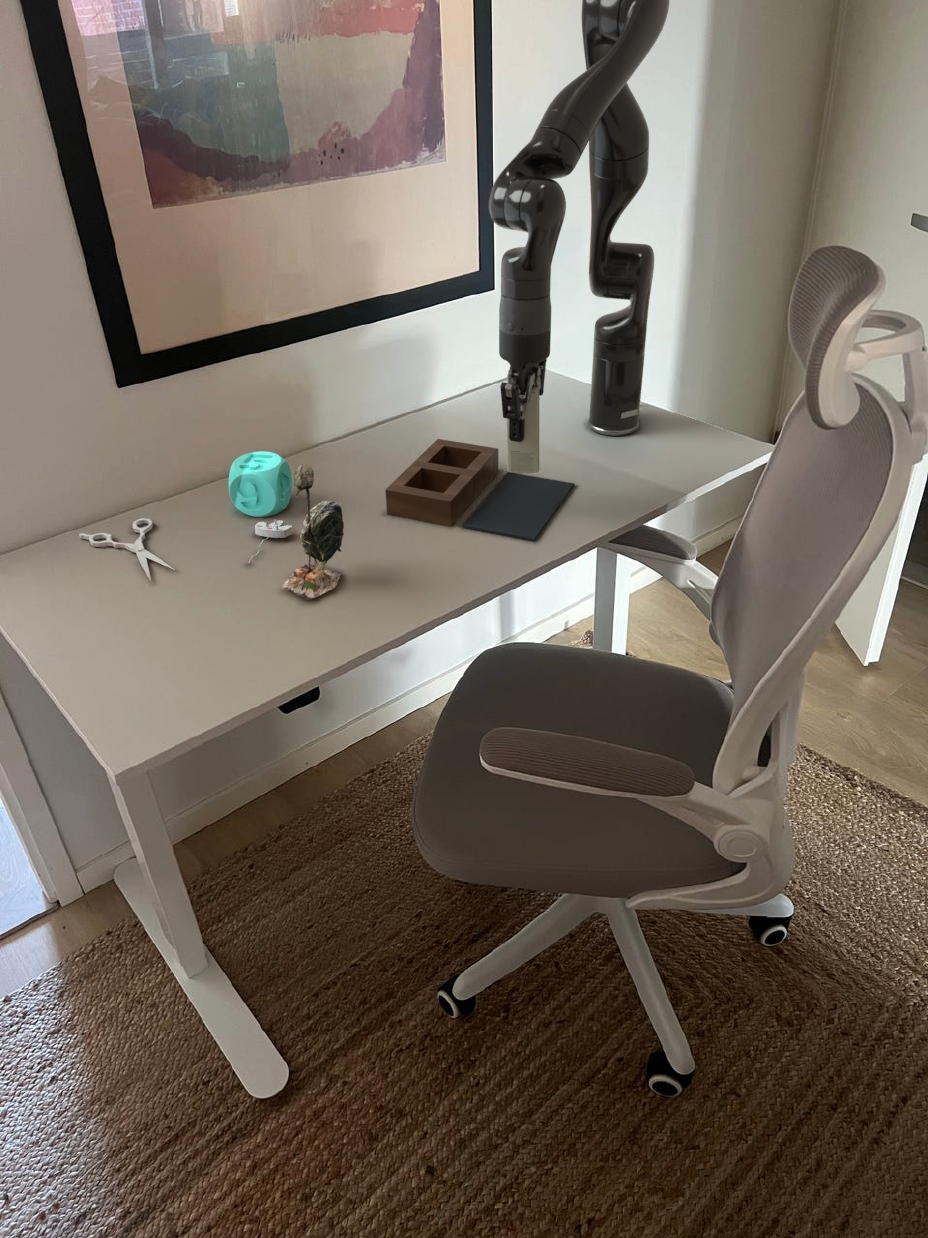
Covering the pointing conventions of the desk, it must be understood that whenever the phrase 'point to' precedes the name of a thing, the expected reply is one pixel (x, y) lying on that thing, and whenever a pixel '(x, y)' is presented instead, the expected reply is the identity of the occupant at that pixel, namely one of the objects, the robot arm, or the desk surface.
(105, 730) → the desk surface
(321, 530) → the plant with pod
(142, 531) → the scissors
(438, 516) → the rack
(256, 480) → the decorative dice
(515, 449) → the box
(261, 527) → the game controller
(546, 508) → the mat
